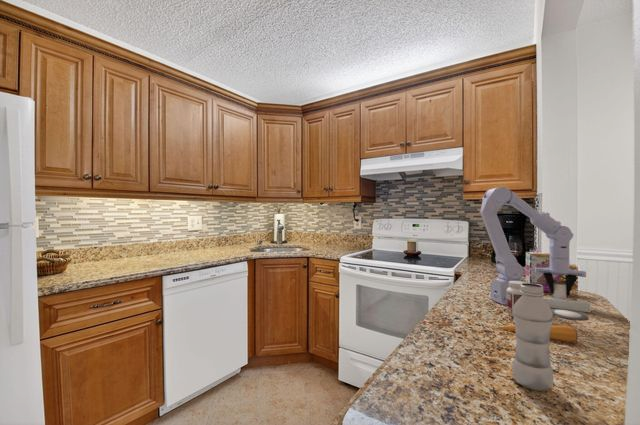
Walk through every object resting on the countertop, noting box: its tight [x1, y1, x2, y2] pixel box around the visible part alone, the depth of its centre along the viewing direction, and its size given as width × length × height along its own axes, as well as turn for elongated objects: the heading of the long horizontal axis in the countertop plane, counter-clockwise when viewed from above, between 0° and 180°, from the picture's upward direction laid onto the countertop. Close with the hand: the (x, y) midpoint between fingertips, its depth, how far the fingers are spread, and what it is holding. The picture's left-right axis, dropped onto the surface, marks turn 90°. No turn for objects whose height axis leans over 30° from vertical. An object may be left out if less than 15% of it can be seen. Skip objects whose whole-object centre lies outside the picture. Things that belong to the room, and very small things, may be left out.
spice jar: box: [552, 279, 568, 300], centre depth 108 cm, size 4×4×7 cm
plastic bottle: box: [512, 282, 554, 392], centre depth 58 cm, size 6×7×20 cm
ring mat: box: [550, 308, 589, 321], centre depth 97 cm, size 10×10×1 cm
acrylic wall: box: [542, 297, 591, 313], centre depth 103 cm, size 1×14×3 cm, turn 60°
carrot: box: [497, 324, 579, 344], centre depth 82 cm, size 20×4×4 cm, turn 56°
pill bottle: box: [506, 280, 526, 317], centre depth 97 cm, size 6×6×11 cm
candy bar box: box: [525, 251, 561, 293], centre depth 126 cm, size 11×5×16 cm, turn 77°
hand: (559, 294), depth 108 cm, fingers closed on spice jar, 4 cm apart
